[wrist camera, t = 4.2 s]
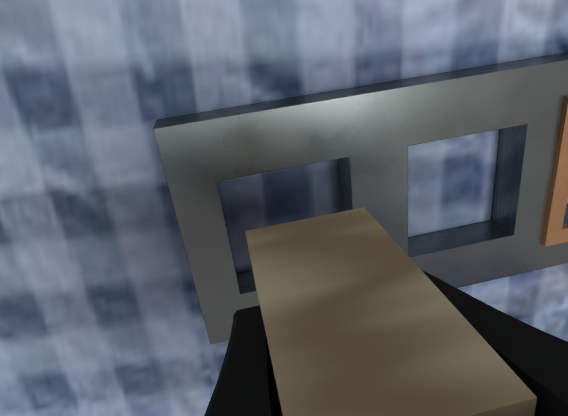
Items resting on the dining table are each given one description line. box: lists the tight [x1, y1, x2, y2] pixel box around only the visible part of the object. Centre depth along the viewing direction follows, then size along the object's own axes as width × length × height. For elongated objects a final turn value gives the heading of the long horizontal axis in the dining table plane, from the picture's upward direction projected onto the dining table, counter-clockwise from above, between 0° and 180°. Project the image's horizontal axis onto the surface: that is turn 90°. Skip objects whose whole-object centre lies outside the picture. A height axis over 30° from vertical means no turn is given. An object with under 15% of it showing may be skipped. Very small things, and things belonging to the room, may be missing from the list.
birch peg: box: [245, 207, 537, 416], centre depth 10 cm, size 4×4×7 cm
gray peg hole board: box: [153, 52, 568, 344], centre depth 17 cm, size 22×9×2 cm, turn 97°
